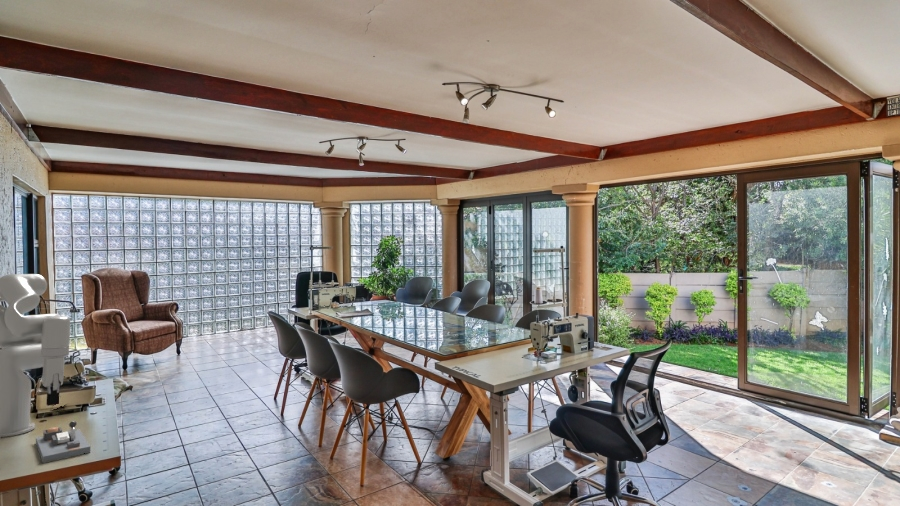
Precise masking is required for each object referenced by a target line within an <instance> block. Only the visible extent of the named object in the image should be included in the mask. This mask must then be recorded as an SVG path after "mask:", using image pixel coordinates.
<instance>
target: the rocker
mask: <svg viewBox="0 0 900 506" xmlns="http://www.w3.org/2000/svg"><path fill="white" fill-rule="evenodd" d="M68 431H69V430H68ZM68 431H62V433H57V434H56V438H57V442H58V443H63V442H68V441H69V439H70V438H69V434H68Z"/></svg>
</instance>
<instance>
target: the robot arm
mask: <svg viewBox="0 0 900 506" xmlns="http://www.w3.org/2000/svg"><path fill="white" fill-rule="evenodd" d="M47 288H48V282H47V280H46V278H45V277H44V276H42V275H41V274H38V273H18V274H17V273H11V274H6V275H2V276H0V302H6V303H7V305H8V306H7V307H6V306H4V305H2V304H0V438H6V437H15V436H18V435H22V434H25V433H28V432H31V431H32V430H34V429H35V428H36V423H34V422H31V400H32V399H31V398H32V381H31V378H30V377H29V376H28V375H27V374H25V373H24V372H25V371H28V370H33V369H34V370H35V369H40V368H42V379H41V381H42V385H43V387H44V388H47V393H46V406H53V405H56V404H59V397H60V386H62V385H63V384H64V377H65V375H64V374H65V357H68V356H70V354H69V353H70V340H71V339H70V336H71V318H70V317H69V316H65V315H61V314H59V313H45V314H44V313H41V314H29V315H24V314H27V313H28V312H31V311H33V310H35V308H37V307H38V306H39V304H40V301H41V298H40V296H42V295H43V294H45V292H46V291H47Z"/></svg>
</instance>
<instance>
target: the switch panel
mask: <svg viewBox="0 0 900 506" xmlns="http://www.w3.org/2000/svg"><path fill="white" fill-rule="evenodd" d="M62 432H63V429H62V427H58V431H55V432H50V433H47V429H44V430H43V432H42V433H43V436H38V437H37V436H36V437H35V445H36V449H37V450H38V453H39V456H40V459H41V462H42V463H43V464H45V463H50V462H54V461H58V460H62V459H67V458H71V456H72V457H75V456H80V454H81V455H85V454H89V452H90V453H91V445H90V443H89V441H88V440H87V438H86V437H85V435H84V433H83V432H82V431H81V429H80V428H78V429H75V433H76V439H74V440H71V430H68V434H69V438H70V439H69V441H68V442H63V443H58V442H57V438H56V434H57V433H62ZM84 453H85V454H84Z"/></svg>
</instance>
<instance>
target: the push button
mask: <svg viewBox="0 0 900 506" xmlns="http://www.w3.org/2000/svg"><path fill="white" fill-rule="evenodd" d="M58 428H59V427H58V426H52V427H50V428H49V427H48V428H47V429H46V430H47V433H50V432H55V431H58Z"/></svg>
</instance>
